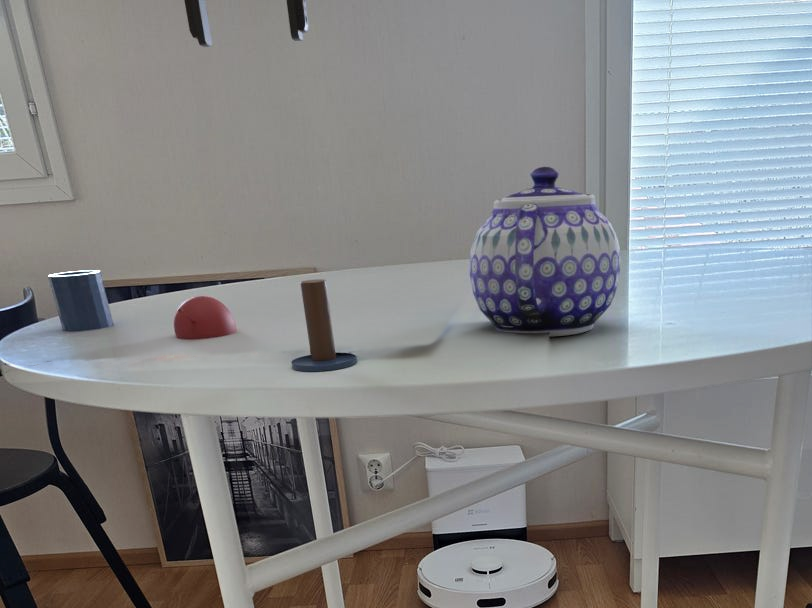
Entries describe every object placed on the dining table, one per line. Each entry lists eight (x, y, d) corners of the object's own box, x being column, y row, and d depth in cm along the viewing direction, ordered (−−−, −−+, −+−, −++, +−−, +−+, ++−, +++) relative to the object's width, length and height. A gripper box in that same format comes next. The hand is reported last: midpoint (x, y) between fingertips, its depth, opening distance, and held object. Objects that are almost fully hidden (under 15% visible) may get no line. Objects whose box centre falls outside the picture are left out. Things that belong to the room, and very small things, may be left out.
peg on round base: (285, 379, 75) (270, 287, 71) (303, 365, 80) (289, 278, 76) (349, 377, 74) (338, 283, 71) (363, 363, 79) (353, 275, 76)
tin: (58, 348, 97) (38, 277, 93) (82, 340, 101) (63, 271, 98) (103, 346, 96) (85, 275, 92) (125, 338, 101) (108, 269, 97)
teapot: (601, 353, 77) (604, 164, 70) (440, 354, 81) (427, 175, 74) (632, 309, 98) (636, 160, 91) (503, 311, 102) (497, 168, 95)
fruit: (180, 375, 89) (147, 311, 82) (192, 338, 92) (162, 273, 85) (236, 373, 89) (208, 308, 82) (247, 336, 91) (221, 270, 85)
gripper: (310, -185, 73) (334, 43, 81) (147, -174, 74) (187, 52, 82) (292, -219, 67) (321, 32, 75) (114, -207, 67) (161, 42, 75)
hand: (251, 42), depth 78 cm, fingers open, 8 cm apart
